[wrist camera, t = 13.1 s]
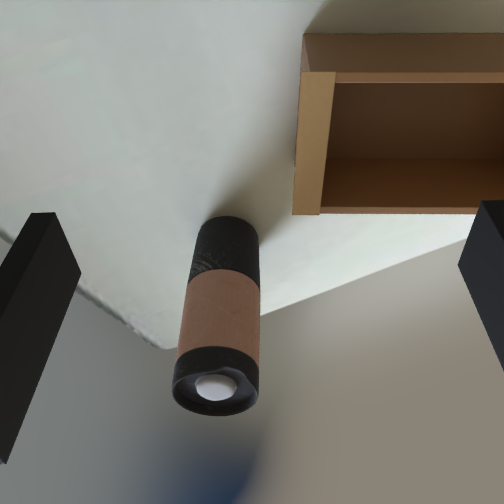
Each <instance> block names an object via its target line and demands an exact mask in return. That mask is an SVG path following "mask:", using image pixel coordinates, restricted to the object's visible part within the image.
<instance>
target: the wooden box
mask: <svg viewBox="0 0 504 504" xmlns="http://www.w3.org/2000/svg"><path fill="white" fill-rule="evenodd" d="M481 200H504V33H420V34H303V40H302V56H301V72H300V87H299V103H298V119H297V134H296V150H295V178H294V194H293V209H292V215H319V214H477V211H478V208H479V206H480V203H481Z"/></svg>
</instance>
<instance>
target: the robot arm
mask: <svg viewBox="0 0 504 504" xmlns="http://www.w3.org/2000/svg"><path fill="white" fill-rule="evenodd" d="M458 267H459V269H460V272H461V274H462V276H463V278H464V281H465V283H466V285H467V288H468V290H469V292H470V295H471V297H472V299H473V301H474V304H475V306H476V308H477V311H478V313H479V315H480V318H481V320H482V322H483V324H484V327H485V329H486V331H487V334H488V336H489V338H490V341H491V343H492V345H493V348H494V350H495V352H496V354H497V357H498V359H499V361H500V363H501V366H502V368H503V370H504V200H481V203H480V206H479V208H478V211H477V214H476V216H475V219H474V222H473V225H472V227H471V230H470V233H469V235H468V238H467V241H466V244H465V246H464V249H463V252H462V254H461V257H460V260H459V263H458ZM80 276H81V271H80V268H79V266H78V264H77V261H76V259H75V257H74V255H73V252H72V250H71V248H70V245H69V243H68V241H67V239H66V236H65V234H64V232H63V229H62V227H61V225H60V223H59V220H58V218H57V216H56V213H55V212H50V213H31V214H30V216H29V218H28V219H27V221H26V223H25V225H24V226H23V228H22V230H21V231H20V233H19V235H18V237H17V238H16V240H15V242H14V243H13V245H12V247H11V249H10V250H9V252H8V254H7V256H6V257H5V259H4V261H3V262H2V264H1V266H0V464H6V463H7V461H8V458H9V456H10V453H11V451H12V448H13V446H14V443H15V440H16V438H17V435H18V433H19V430H20V428H21V425H22V423H23V420H24V418H25V415H26V413H27V410H28V408H29V405H30V402H31V400H32V397H33V395H34V392H35V390H36V387H37V385H38V382H39V380H40V377H41V375H42V372H43V370H44V367H45V364H46V362H47V359H48V357H49V354H50V352H51V349H52V347H53V344H54V342H55V339H56V337H57V334H58V332H59V329H60V327H61V324H62V321H63V319H64V316H65V314H66V311H67V309H68V306H69V304H70V301H71V299H72V296H73V293H74V291H75V289H76V286H77V284H78V281H79V278H80Z"/></svg>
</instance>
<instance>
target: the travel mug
mask: <svg viewBox="0 0 504 504" xmlns="http://www.w3.org/2000/svg"><path fill="white" fill-rule="evenodd" d="M259 341H260V268H259V243H258V236H257V233H256V231H255V230H254V228H253V227H252V226H251V225H250V224H249V223H247V222H246V221H244V220H242V219H239V218H236V217H230V216H224V217H217V218H214V219H212V220H210V221H208V222H206V223H205V224H204V225H203V226H202V227H201V229H200V231H199V233H198V237H197V241H196V245H195V250H194V255H193V260H192V265H191V269H190V274H189V279H188V284H187V289H186V295H185V302H184V308H183V315H182V322H181V328H180V335H179V341H178V348H177V355H176V361H175V368H174V374H173V381H172V396H173V398H174V400H175V401H176V402H177V403H178V404H179V405H180V406H182V407H183V408H185V409H187V410H189V411H192V412H194V413H198V414H202V415H208V416H229V415H235V414H238V413H241V412H244V411H246V410H248V409H249V408H251V407H252V406H253V405H254V404H255V403H256V401H257V398H258V393H259V391H258V390H259Z"/></svg>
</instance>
